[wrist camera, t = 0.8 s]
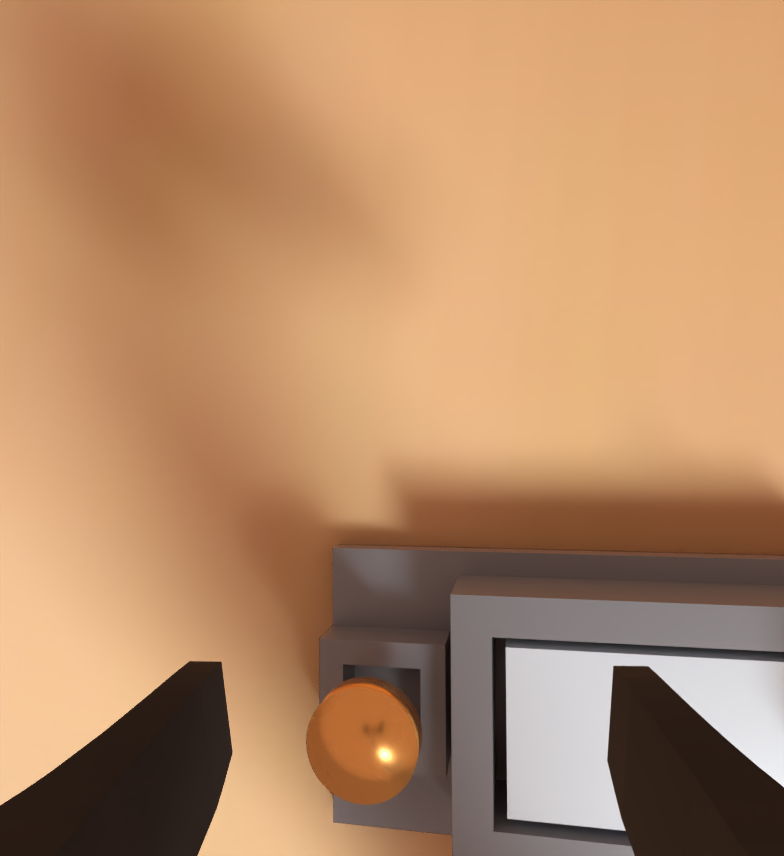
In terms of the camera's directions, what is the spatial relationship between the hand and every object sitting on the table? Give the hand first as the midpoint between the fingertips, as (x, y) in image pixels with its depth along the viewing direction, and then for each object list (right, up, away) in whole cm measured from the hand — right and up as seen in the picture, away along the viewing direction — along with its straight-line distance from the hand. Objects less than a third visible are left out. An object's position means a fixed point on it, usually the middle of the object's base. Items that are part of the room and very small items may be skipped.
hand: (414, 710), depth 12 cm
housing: (+9, -6, +15) cm, 19 cm away
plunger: (-1, -6, +14) cm, 15 cm away
